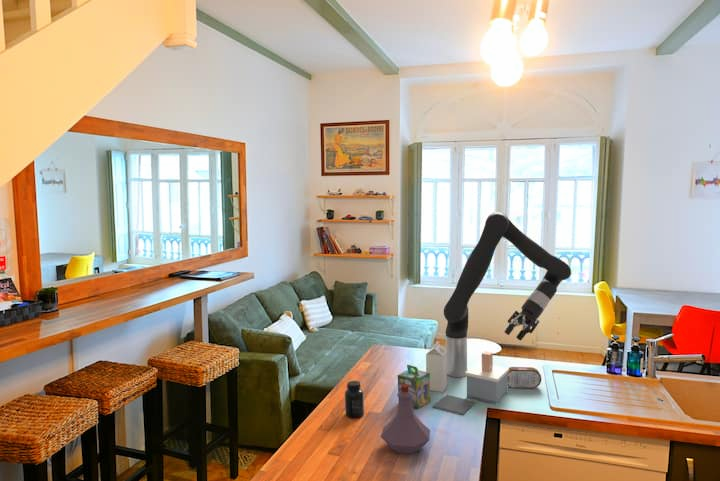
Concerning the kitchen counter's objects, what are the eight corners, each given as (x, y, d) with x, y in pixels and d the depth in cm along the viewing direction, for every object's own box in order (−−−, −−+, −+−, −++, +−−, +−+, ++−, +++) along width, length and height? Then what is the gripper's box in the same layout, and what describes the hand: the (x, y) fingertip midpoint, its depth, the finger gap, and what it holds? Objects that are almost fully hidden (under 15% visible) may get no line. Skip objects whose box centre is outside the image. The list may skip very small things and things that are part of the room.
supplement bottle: (366, 411, 179) (365, 380, 178) (360, 420, 173) (359, 387, 172) (349, 409, 181) (348, 378, 180) (342, 417, 175) (341, 385, 174)
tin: (540, 386, 198) (540, 366, 198) (542, 389, 195) (542, 369, 195) (502, 386, 200) (502, 366, 199) (504, 389, 197) (504, 369, 196)
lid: (464, 375, 189) (464, 354, 188) (477, 365, 199) (477, 345, 198) (497, 382, 181) (497, 360, 180) (509, 371, 191) (509, 351, 191)
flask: (439, 456, 148) (439, 393, 146) (387, 463, 144) (386, 399, 142) (421, 431, 164) (421, 373, 162) (374, 437, 160) (373, 378, 158)
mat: (432, 407, 182) (432, 405, 182) (447, 396, 191) (446, 394, 191) (462, 415, 175) (462, 413, 174) (475, 403, 184) (475, 401, 184)
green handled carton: (431, 401, 186) (430, 364, 185) (416, 409, 180) (416, 371, 178) (411, 395, 193) (411, 359, 191) (397, 403, 186) (396, 365, 185)
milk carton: (426, 390, 197) (425, 344, 196) (430, 383, 204) (429, 339, 202) (443, 392, 195) (443, 346, 193) (447, 385, 201) (446, 341, 200)
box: (466, 397, 190) (466, 375, 189) (478, 387, 199) (478, 365, 198) (496, 404, 182) (496, 381, 182) (507, 393, 192) (507, 371, 191)
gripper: (519, 295, 200) (496, 326, 198) (540, 301, 186) (516, 335, 184) (531, 306, 202) (508, 337, 200) (553, 313, 188) (529, 346, 186)
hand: (512, 336), depth 192 cm, fingers open, 8 cm apart
